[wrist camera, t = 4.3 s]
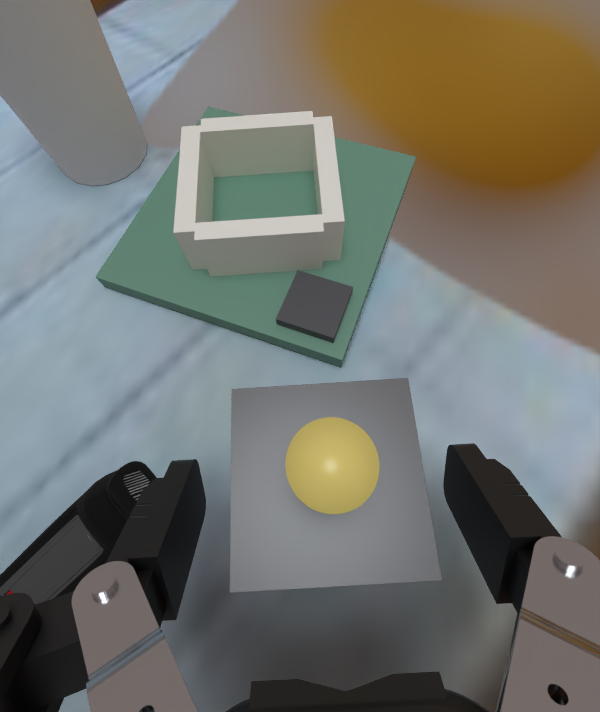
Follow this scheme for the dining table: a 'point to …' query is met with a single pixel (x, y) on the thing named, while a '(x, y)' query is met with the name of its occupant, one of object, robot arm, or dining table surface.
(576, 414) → the dining table surface
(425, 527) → the plug
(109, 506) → the electric trimmer
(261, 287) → the circuit board
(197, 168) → the socket
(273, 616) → the dining table surface
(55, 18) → the grey cup
